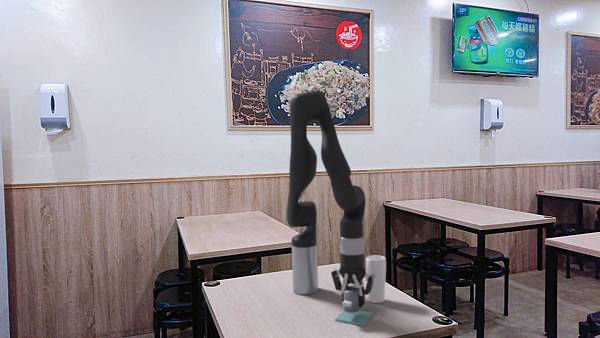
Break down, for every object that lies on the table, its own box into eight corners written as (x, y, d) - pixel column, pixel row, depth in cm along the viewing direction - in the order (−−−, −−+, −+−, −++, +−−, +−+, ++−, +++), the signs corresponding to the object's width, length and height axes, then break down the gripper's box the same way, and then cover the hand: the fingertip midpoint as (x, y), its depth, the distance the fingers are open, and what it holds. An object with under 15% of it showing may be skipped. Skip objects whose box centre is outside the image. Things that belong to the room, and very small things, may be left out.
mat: (346, 309, 134) (346, 308, 134) (372, 314, 130) (372, 312, 130) (335, 320, 126) (335, 318, 126) (363, 326, 122) (363, 324, 122)
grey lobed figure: (351, 302, 132) (350, 284, 131) (364, 304, 129) (364, 286, 129) (339, 313, 123) (338, 293, 123) (353, 315, 121) (352, 295, 121)
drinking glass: (390, 300, 141) (389, 257, 140) (379, 306, 136) (378, 261, 135) (373, 295, 146) (372, 253, 145) (362, 301, 141) (361, 258, 140)
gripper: (378, 250, 126) (379, 304, 127) (335, 246, 133) (337, 297, 134) (370, 256, 120) (371, 313, 121) (325, 251, 127) (327, 305, 128)
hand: (353, 305), depth 127 cm, fingers closed on grey lobed figure, 4 cm apart
